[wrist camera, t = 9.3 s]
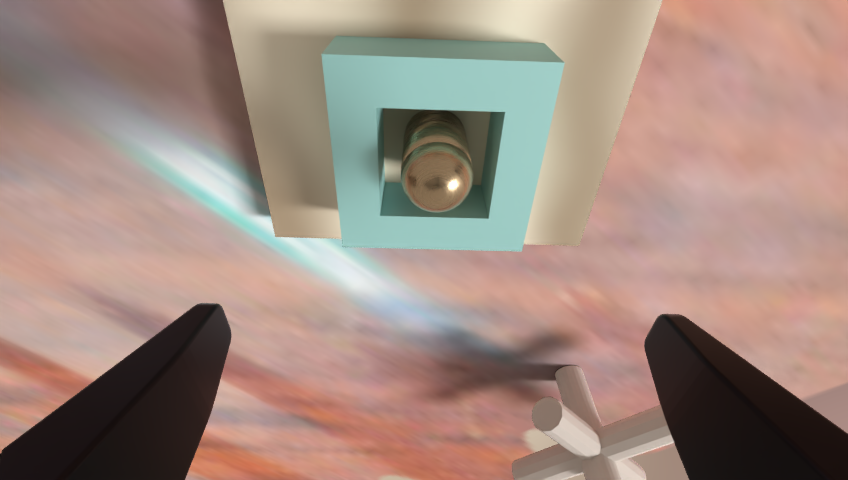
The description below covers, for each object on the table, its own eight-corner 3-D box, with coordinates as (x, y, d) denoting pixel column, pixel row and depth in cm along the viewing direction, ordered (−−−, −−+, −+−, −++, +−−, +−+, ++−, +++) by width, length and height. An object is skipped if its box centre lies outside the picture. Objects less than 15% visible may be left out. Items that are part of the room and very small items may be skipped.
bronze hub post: (469, 109, 15) (482, 160, 12) (462, 167, 17) (473, 227, 13) (404, 106, 15) (398, 157, 12) (403, 165, 17) (398, 225, 13)
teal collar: (544, 43, 14) (564, 62, 12) (511, 215, 18) (521, 251, 16) (336, 35, 14) (321, 54, 12) (351, 211, 18) (342, 247, 16)
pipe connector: (464, 370, 27) (481, 551, 19) (601, 299, 23) (693, 491, 15) (544, 428, 32) (585, 594, 24) (671, 376, 28) (770, 556, 20)
